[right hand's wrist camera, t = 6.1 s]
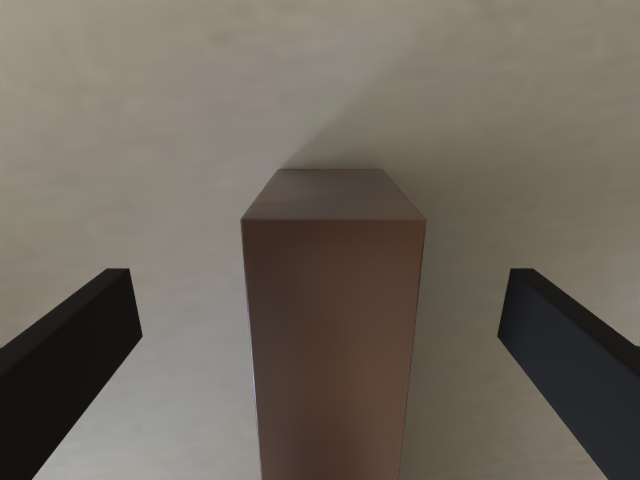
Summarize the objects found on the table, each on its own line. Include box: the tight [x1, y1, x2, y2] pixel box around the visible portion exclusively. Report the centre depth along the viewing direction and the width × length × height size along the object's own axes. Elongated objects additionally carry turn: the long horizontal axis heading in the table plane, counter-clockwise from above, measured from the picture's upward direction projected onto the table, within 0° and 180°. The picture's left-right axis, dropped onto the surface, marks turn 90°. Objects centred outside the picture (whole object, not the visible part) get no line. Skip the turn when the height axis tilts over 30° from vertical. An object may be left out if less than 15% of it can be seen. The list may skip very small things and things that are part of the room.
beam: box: [241, 169, 426, 480], centre depth 19 cm, size 5×30×8 cm, turn 0°
